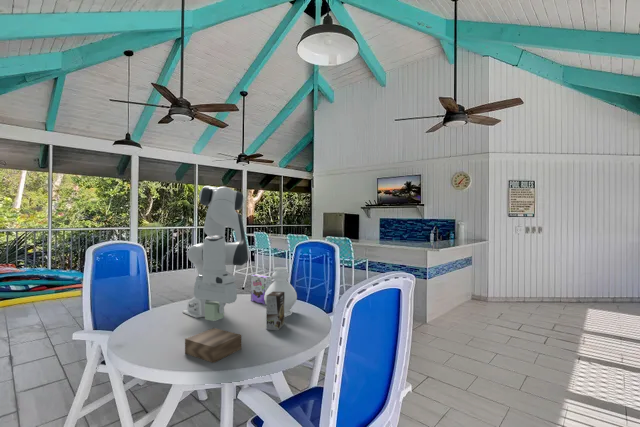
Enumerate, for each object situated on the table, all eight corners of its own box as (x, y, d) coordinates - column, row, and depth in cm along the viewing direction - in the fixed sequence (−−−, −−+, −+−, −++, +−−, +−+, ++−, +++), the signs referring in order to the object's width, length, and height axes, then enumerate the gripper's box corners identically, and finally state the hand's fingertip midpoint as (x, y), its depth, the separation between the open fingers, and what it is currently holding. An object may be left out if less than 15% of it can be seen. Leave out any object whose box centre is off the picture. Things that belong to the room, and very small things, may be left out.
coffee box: (278, 330, 146) (279, 295, 146) (265, 329, 147) (265, 295, 148) (285, 324, 155) (285, 291, 155) (272, 323, 156) (272, 290, 157)
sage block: (205, 319, 123) (204, 303, 123) (214, 315, 127) (214, 300, 127) (214, 321, 121) (214, 305, 121) (223, 317, 125) (223, 302, 125)
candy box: (250, 300, 198) (250, 274, 198) (257, 299, 203) (257, 273, 203) (264, 304, 189) (264, 277, 190) (272, 302, 194) (272, 276, 194)
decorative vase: (303, 313, 172) (303, 268, 172) (277, 321, 159) (277, 272, 160) (283, 307, 184) (283, 264, 185) (257, 313, 172) (257, 268, 172)
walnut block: (185, 354, 122) (185, 338, 122) (213, 341, 134) (213, 327, 134) (213, 363, 114) (213, 347, 114) (241, 349, 126) (241, 334, 126)
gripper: (189, 275, 126) (189, 310, 126) (227, 280, 117) (227, 317, 116) (202, 273, 132) (202, 306, 132) (239, 277, 122) (239, 313, 122)
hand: (214, 311), depth 124 cm, fingers closed on sage block, 5 cm apart
